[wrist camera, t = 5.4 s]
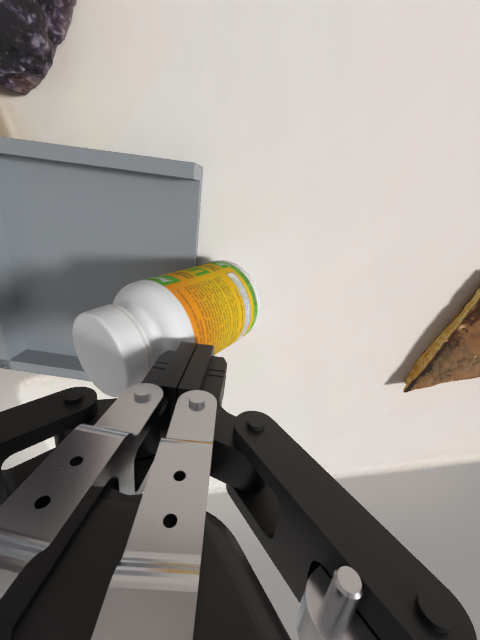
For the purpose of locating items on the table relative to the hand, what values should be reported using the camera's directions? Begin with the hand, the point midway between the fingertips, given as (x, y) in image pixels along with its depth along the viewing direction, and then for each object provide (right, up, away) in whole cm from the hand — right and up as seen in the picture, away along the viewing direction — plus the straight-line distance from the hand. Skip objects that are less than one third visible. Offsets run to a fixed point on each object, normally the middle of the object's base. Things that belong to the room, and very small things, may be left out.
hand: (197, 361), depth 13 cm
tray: (-8, +5, +8) cm, 13 cm away
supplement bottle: (+1, +3, +7) cm, 8 cm away
